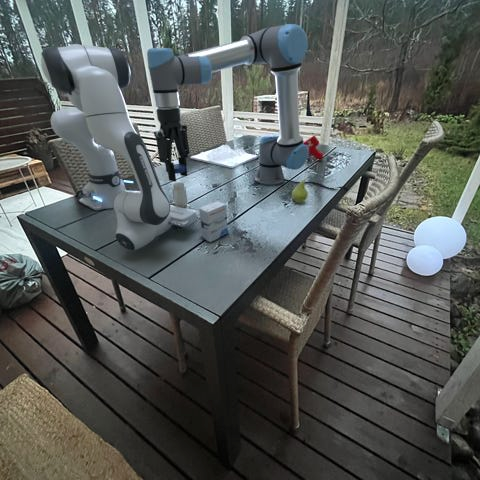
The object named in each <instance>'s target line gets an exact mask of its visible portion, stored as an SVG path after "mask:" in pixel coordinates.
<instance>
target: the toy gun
mask: <svg viewBox="0 0 480 480" xmlns="http://www.w3.org/2000/svg"><path fill="white" fill-rule="evenodd" d="M303 144H304V145H306V146H307V147H308V149H309V155H308V157H310V156H312V157H313V158H314V159H315V160H316V162H318V163H319V161H322V160H323V157H324V153H323V152H322V151H320V150H319V149H318V148H317V147H318V146H319V144H320V141H319V140H318V138H317V136H316V135H312V136H311V137H310V138H308V139H306V140H305V141H303ZM317 159H319V161H317ZM320 159H321V160H320Z"/></svg>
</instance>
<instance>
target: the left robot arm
mask: <svg viewBox="0 0 480 480" xmlns="http://www.w3.org/2000/svg"><path fill="white" fill-rule="evenodd" d="M40 55H41V58H40V65H41V69H42V72H43V75H44V77H45V78H46V80H47V81H48V83H49V84H50V85H51V87H52V88H54V89H55V90H56V91H58V92H61V93H66V94H67V97H68V101H69V103H71V104H72V105H73V107H68V108H67V107H65V108H63V109H59V110H55V111H53V112H52V114H51V117H50V125H51V129H52V131H53V132H54V133H55V135H57V136H58V137H59V138H60V139H62V140H64V141H66V142H68V143H70V144H71V145H73V146H74V147H75V148H76V149H77V150H78V152H80V154H81V155H82V157H83V159H84V161H85V163H86V167H87V169H88V173H86V177H88V182H87V183H86V184H85V186H84V187H82V189H80V190H78V191H77V192H76V194H74V196H75V197H78V196H79V194H80V195H81V196H83V197H81V198H79V201H78V202H79V203H80V204H82V205H84V206H86V207H88V208H90V209H92V210H94V211H101V210H109V209H113V212H114V214H115V217H116V230H115V239H116V241H117V243H118V244H119V245H120V246H121V247H123V248H124V249H127V250H129V251H137V250H139V249H141V248H143V247H145V246H147V245H148V244H150V243H151V242H153V241H154V239H155V238H156V237H159V236H161V235H162V234H164V233H165V232H167V231H169V230H170V229H171V228H172V226H175V227H179V228H185V227H188V226H190V225H191V224H193V223H195V222H196V221H197V212H196V210H194V209H192V205H191V204H188V205H186V206H185V208H181V207H176V206H175V204H174V201H172V202H170V200H169V198H168V195H167V194H166V193H165V191H164V189H163V187H162V185H161V183H160V179H159V176H158V174H157V171H156V167H155V165H154V163H153V161H152V158H151V155H150V152H149V149H148V148H147V145H146V143H145V141H144V139H143V138H142V137H141V135H139V134H138V133H137V131H136V130H135V128H134V126H133V123H132V121H131V118H130V115H129V112H128V107H127V103H126V102H125V98H124V95H123V93H122V90H123V89H127V88H128V87H129V85H130V83H131V68H130V65H129V61H128V59H127V57H126V55H125V54H124V53H123V52H122V51H121V50H120V49H118V48H115V47H111V46H107V47H103V46H97V45H83V44H79V43H73V44H70V45H67V46H58V47H57V45H53V46H48V47H45V48H43V49H42V51H41V53H40ZM115 154H117V155H118V156H120V157H122V158H123V159H124V160H125V161H126V162H127V163H128V165H129V167H130V168H131V171H132V173H133V176H134V178H135V181H136V183H137V186H138V189H139V190H127V188H126V185H125V183H129V184H134V181H132V180H125V179H124V180H123V179H122V176H121V171H120V169H119V168H118V164H117V161H116V157H115V156H116V155H115Z"/></svg>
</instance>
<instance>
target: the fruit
mask: <svg viewBox="0 0 480 480" xmlns="http://www.w3.org/2000/svg"><path fill="white" fill-rule="evenodd" d="M310 177H311V175H310V174H309V175H308V176H307V177H305V179H302V180H301V181H299V182H300V183H299V184H298V183H297V185H296V186H295V187H294V188H293V190H292V191H291V198H292V200H293V201H294V202H295V203H297V204H301V203H304V202H305V201H306V200H307V198H308V196H309V195H308V190H307V189H306V183H305V182H306V180H308V179H309V178H310Z"/></svg>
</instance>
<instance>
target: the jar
mask: <svg viewBox="0 0 480 480" xmlns="http://www.w3.org/2000/svg"><path fill="white" fill-rule="evenodd" d="M171 191H172V196H173V197H172V198H173V202H174V204H175V206H176V207H181V208H185V206H186V205H189V203H188V202H189V201H188V194H187V187H186V186H185V183H184V182H174V183H173V184H172V188H171Z"/></svg>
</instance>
